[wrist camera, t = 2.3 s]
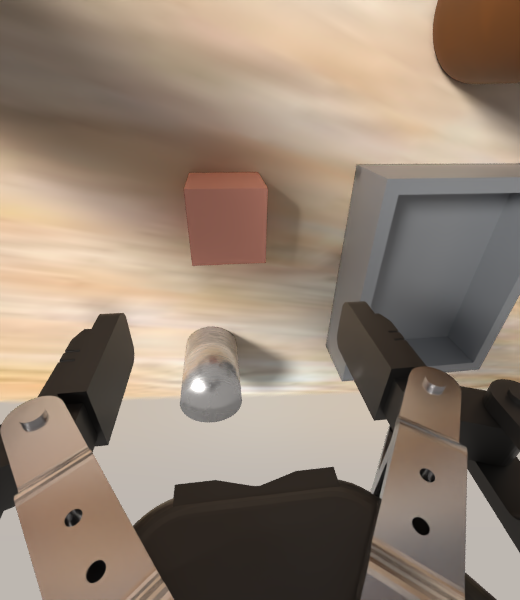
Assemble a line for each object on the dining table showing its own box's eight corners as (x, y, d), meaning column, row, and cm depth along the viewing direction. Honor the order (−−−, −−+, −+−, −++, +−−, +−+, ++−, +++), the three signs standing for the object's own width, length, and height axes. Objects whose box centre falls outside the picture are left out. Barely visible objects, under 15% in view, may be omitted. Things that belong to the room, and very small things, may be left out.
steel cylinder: (183, 328, 30) (176, 384, 24) (235, 325, 30) (241, 378, 25) (189, 366, 33) (183, 424, 27) (237, 362, 33) (242, 419, 27)
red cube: (189, 172, 23) (183, 189, 18) (257, 171, 23) (267, 188, 19) (195, 238, 25) (192, 265, 21) (257, 236, 26) (265, 262, 22)
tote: (356, 164, 24) (387, 178, 19) (523, 163, 25) (584, 176, 21) (325, 345, 33) (341, 381, 29) (447, 336, 35) (478, 369, 31)
